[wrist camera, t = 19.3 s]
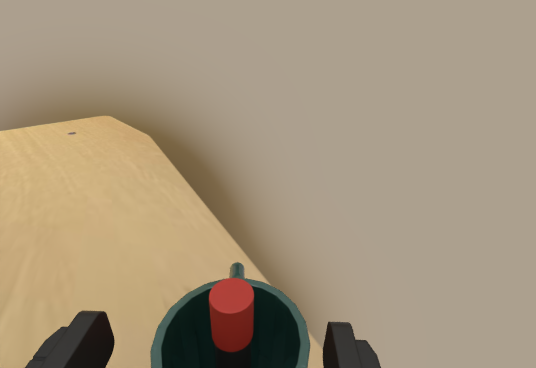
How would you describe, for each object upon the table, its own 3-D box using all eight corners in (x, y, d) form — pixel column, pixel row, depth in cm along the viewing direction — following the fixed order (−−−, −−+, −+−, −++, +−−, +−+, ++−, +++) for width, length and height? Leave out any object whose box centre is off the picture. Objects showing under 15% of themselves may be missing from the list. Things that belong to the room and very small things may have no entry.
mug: (302, 516, 18) (326, 421, 13) (160, 527, 17) (124, 433, 12) (281, 333, 29) (289, 242, 24) (194, 336, 29) (182, 244, 23)
